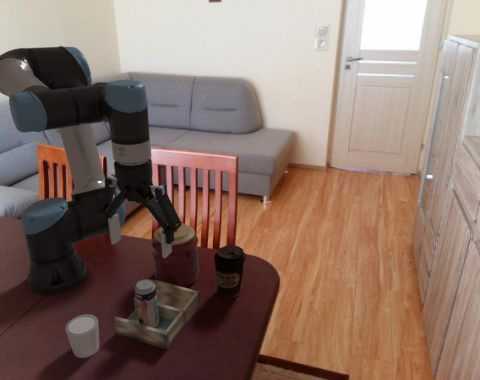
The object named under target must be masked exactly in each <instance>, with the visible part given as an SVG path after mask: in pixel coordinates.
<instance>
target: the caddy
mask: <svg viewBox="0 0 480 380" xmlns="http://www.w3.org/2000/svg"><path fill="white" fill-rule="evenodd" d="M152 281H153V283H154V284H155V286H156V295H157V305H158V315H159V324H158V326H157V327H156V328H152V327H149V326H146V325H142V324H139V321H138V313H137V306H136V298H135V297H134V298H133V301H134V310H133V311H132V312H131V314H130V315H129V316H127V318H122V317H120V316H115V317H114V318H113V319H114V324H115V331H116V332H115V333H116V334H117V335H120V336H124V337H126V338H129V339H132V340H136V341H138V342H141V343H145V344H147V345H150V346H154V347H157V348H159V349H163V350H166V351H168V350H169V349H170V347H171V346H172V345H173V344H174V342H175V341H176V339H177V338H178V336H180V334H181V333H182V332H183V330H184V329H185V327H186V325H187V324H188V323H189V321H190V320H191V318H192V317H193V316H194V315H195V314H196V312H197V311H198V309H199V307H200V306H201V302H200V301H201V300H200V299H201V297H200V294H201V293H200V291H199V290H194V289H190V288H187V287H180V286H176V285H173V284H169V283H165V282H161V281H158V280H156V279H153V278H152Z"/></svg>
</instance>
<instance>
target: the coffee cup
mask: <svg viewBox="0 0 480 380" xmlns="http://www.w3.org/2000/svg"><path fill="white" fill-rule="evenodd" d="M246 256H247V255H246V252H244V249H243V248H242V247H240V246H238V245H234V244H231V245H230V244H229V245H225V246H222V247H219V248H217V250H216V252H215V253H214V256H213V260H214V267H215V268H214V269H215V270H214V271H215V279H216V283H217V292H218V294H219V295H220V296H221V297H224V298H235V297H238V296H240V295H241V293H242V288H241V285H242V279H243V276H244V267H245V265H244V264H245V261H246Z"/></svg>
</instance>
